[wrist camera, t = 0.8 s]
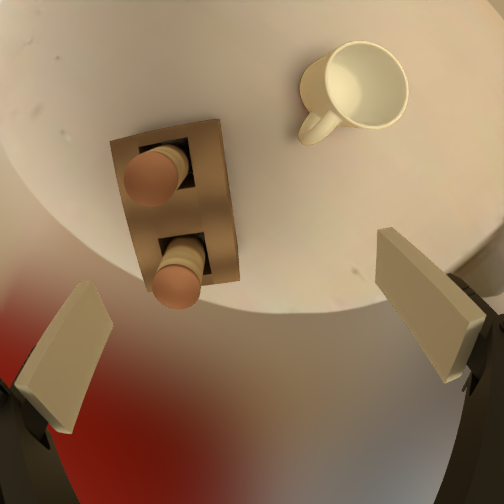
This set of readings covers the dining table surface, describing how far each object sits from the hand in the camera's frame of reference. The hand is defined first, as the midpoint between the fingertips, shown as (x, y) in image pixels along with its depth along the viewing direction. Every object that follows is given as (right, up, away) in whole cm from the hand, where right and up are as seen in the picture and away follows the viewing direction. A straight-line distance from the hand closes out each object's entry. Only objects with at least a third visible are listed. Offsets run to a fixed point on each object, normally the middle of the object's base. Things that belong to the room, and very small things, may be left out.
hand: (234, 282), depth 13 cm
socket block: (-7, +8, +22) cm, 24 cm away
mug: (+9, +19, +18) cm, 28 cm away
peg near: (-7, +9, +14) cm, 18 cm away
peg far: (-6, +1, +18) cm, 19 cm away
